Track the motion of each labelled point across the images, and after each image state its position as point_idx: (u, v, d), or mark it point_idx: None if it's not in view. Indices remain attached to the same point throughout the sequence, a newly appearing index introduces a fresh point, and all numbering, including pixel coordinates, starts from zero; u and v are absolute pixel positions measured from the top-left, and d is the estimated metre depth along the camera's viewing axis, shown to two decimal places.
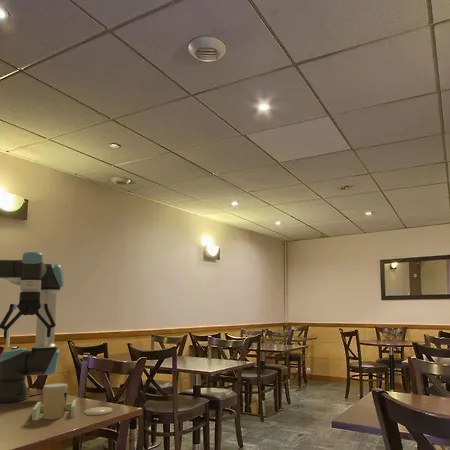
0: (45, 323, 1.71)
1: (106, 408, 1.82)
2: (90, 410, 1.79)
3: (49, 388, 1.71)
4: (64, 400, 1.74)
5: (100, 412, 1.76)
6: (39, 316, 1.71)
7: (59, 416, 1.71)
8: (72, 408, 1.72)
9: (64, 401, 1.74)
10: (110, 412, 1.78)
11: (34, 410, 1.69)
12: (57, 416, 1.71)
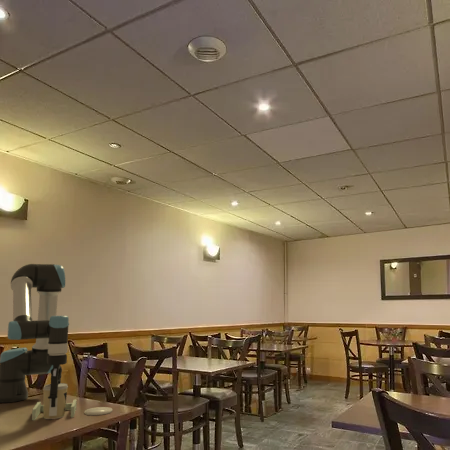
0: None
1: (106, 408, 1.82)
2: (90, 410, 1.79)
3: (49, 388, 1.71)
4: (64, 400, 1.74)
5: (100, 412, 1.76)
6: None
7: (59, 416, 1.71)
8: (72, 408, 1.72)
9: (64, 401, 1.74)
10: (110, 412, 1.78)
11: (34, 410, 1.69)
12: (57, 416, 1.71)
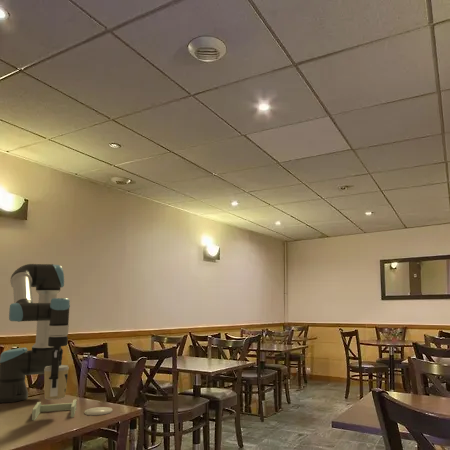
0: None
1: (106, 408, 1.82)
2: (90, 410, 1.79)
3: (50, 369, 1.73)
4: (65, 381, 1.75)
5: (100, 412, 1.76)
6: None
7: (60, 397, 1.73)
8: (72, 408, 1.72)
9: (65, 382, 1.75)
10: (110, 412, 1.78)
11: (34, 410, 1.69)
12: (58, 396, 1.72)
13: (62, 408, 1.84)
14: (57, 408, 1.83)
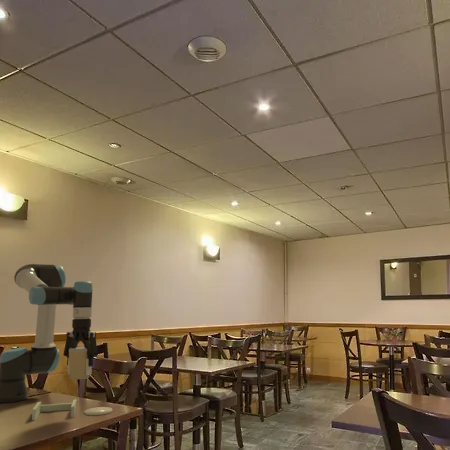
0: (87, 352, 1.78)
1: (106, 408, 1.82)
2: (90, 410, 1.79)
3: (85, 349, 1.78)
4: None
5: (100, 412, 1.76)
6: (84, 344, 1.79)
7: None
8: (72, 408, 1.72)
9: None
10: (110, 412, 1.78)
11: (34, 410, 1.69)
12: (88, 375, 1.79)
13: (62, 408, 1.84)
14: (57, 408, 1.83)
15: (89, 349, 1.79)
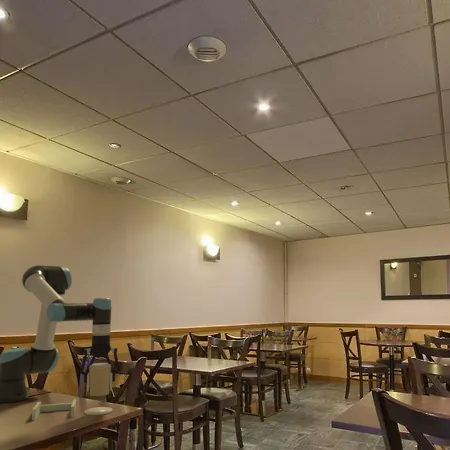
0: (111, 368, 1.83)
1: (106, 408, 1.82)
2: (90, 410, 1.79)
3: (110, 365, 1.82)
4: None
5: (100, 412, 1.76)
6: (108, 360, 1.83)
7: None
8: (72, 408, 1.72)
9: None
10: (110, 412, 1.78)
11: (34, 410, 1.69)
12: None
13: (62, 408, 1.84)
14: (57, 408, 1.83)
15: (112, 365, 1.84)
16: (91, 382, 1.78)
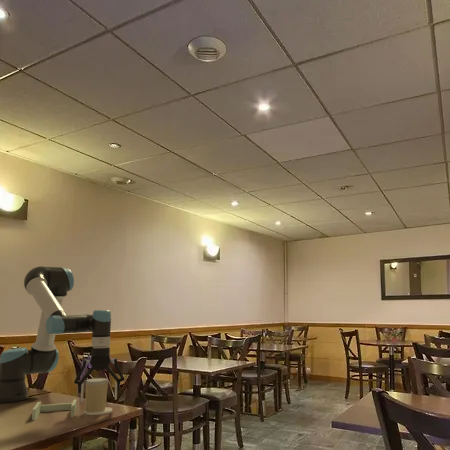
0: (115, 377, 1.83)
1: (106, 408, 1.82)
2: None
3: (106, 381, 1.81)
4: None
5: (100, 412, 1.76)
6: (110, 371, 1.82)
7: None
8: (72, 408, 1.72)
9: None
10: (110, 412, 1.78)
11: (34, 410, 1.69)
12: None
13: (62, 408, 1.84)
14: (57, 408, 1.83)
15: None
16: (87, 398, 1.77)
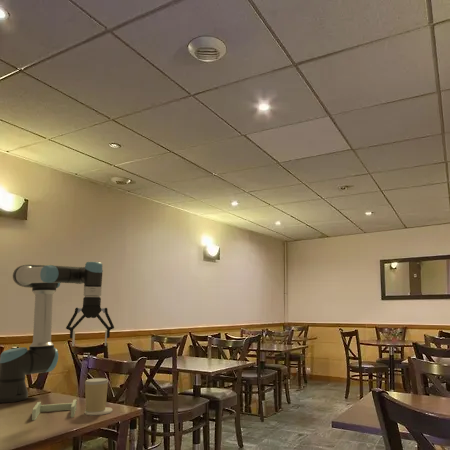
0: (105, 325, 1.92)
1: (106, 408, 1.82)
2: None
3: (106, 381, 1.81)
4: None
5: (100, 412, 1.76)
6: (100, 319, 1.92)
7: None
8: (72, 408, 1.72)
9: None
10: (110, 412, 1.78)
11: (34, 410, 1.69)
12: None
13: (62, 408, 1.84)
14: (57, 408, 1.83)
15: None
16: (87, 398, 1.77)
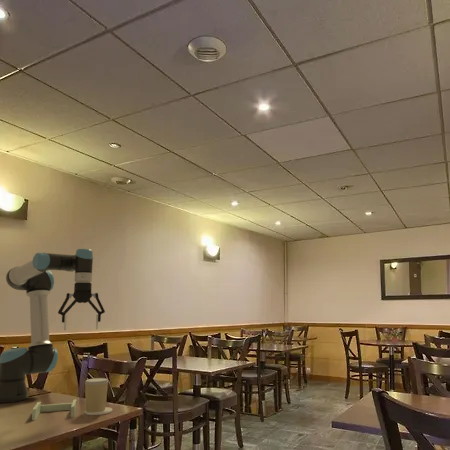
0: (96, 310, 1.99)
1: (106, 408, 1.82)
2: None
3: (106, 381, 1.81)
4: None
5: (100, 412, 1.76)
6: (91, 304, 1.99)
7: None
8: (72, 408, 1.72)
9: None
10: (110, 412, 1.78)
11: (34, 410, 1.69)
12: None
13: (62, 408, 1.84)
14: (57, 408, 1.83)
15: (96, 307, 2.00)
16: (87, 398, 1.77)
